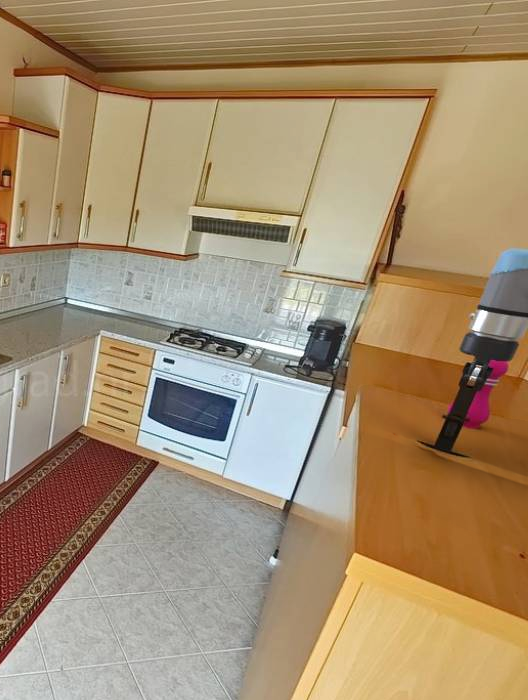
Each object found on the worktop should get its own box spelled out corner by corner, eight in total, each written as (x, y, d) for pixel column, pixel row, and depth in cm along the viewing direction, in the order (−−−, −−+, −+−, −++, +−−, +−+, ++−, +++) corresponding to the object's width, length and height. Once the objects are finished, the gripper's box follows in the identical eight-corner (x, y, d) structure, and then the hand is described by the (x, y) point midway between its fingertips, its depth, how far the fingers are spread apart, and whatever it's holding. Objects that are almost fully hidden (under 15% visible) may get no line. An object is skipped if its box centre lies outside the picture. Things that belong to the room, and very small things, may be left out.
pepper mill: (474, 439, 110) (514, 354, 103) (435, 425, 116) (471, 345, 109) (484, 434, 114) (524, 352, 107) (447, 421, 120) (482, 343, 113)
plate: (481, 449, 105) (484, 442, 104) (474, 462, 98) (477, 455, 97) (418, 429, 112) (421, 423, 112) (408, 440, 105) (411, 433, 104)
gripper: (470, 328, 97) (424, 435, 105) (463, 334, 88) (413, 450, 96) (522, 337, 92) (469, 449, 100) (519, 345, 83) (462, 466, 91)
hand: (441, 449), depth 98 cm, fingers closed
